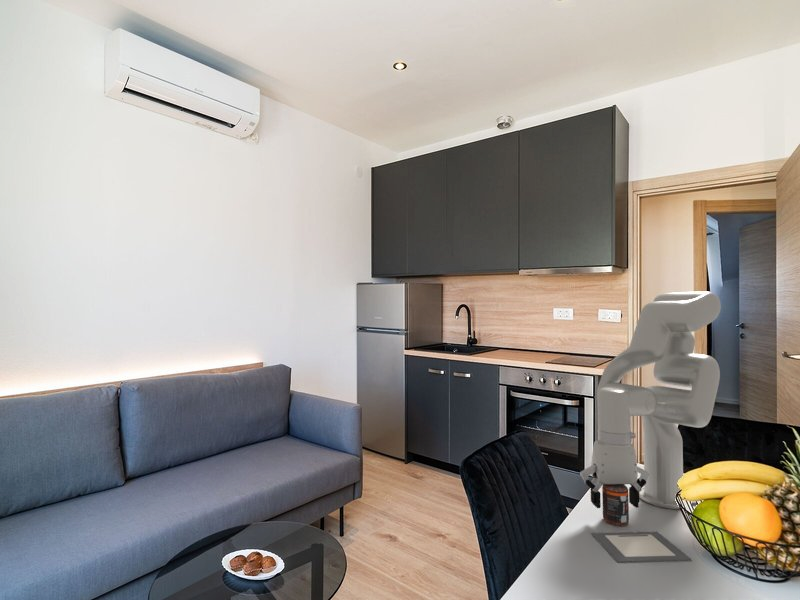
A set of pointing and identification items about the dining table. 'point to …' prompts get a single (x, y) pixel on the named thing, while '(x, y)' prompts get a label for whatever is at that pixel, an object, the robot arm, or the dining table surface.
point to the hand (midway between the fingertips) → (615, 505)
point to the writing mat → (640, 547)
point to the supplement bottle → (615, 504)
